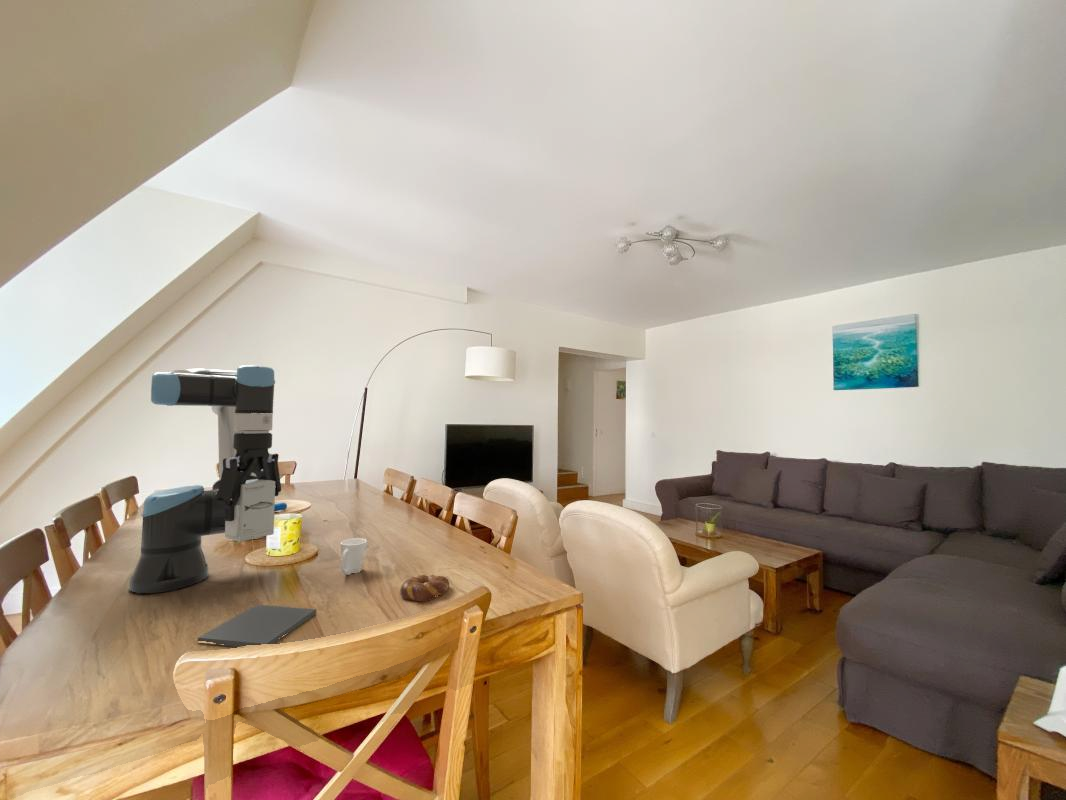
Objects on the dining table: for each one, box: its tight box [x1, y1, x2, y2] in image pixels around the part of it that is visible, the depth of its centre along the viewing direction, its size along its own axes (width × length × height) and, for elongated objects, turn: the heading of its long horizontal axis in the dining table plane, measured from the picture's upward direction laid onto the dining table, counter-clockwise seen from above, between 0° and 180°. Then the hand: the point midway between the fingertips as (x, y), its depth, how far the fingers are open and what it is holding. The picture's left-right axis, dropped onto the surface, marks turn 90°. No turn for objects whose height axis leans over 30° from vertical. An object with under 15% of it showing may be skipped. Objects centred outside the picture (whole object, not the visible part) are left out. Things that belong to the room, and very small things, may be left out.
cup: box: [339, 537, 367, 576], centre depth 114 cm, size 7×10×8 cm
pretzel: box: [399, 574, 450, 602], centre depth 102 cm, size 12×11×4 cm
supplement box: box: [224, 479, 276, 543], centre depth 98 cm, size 7×7×13 cm
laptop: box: [197, 604, 317, 648], centre depth 84 cm, size 14×14×1 cm
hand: (249, 529), depth 97 cm, fingers closed on supplement box, 9 cm apart
